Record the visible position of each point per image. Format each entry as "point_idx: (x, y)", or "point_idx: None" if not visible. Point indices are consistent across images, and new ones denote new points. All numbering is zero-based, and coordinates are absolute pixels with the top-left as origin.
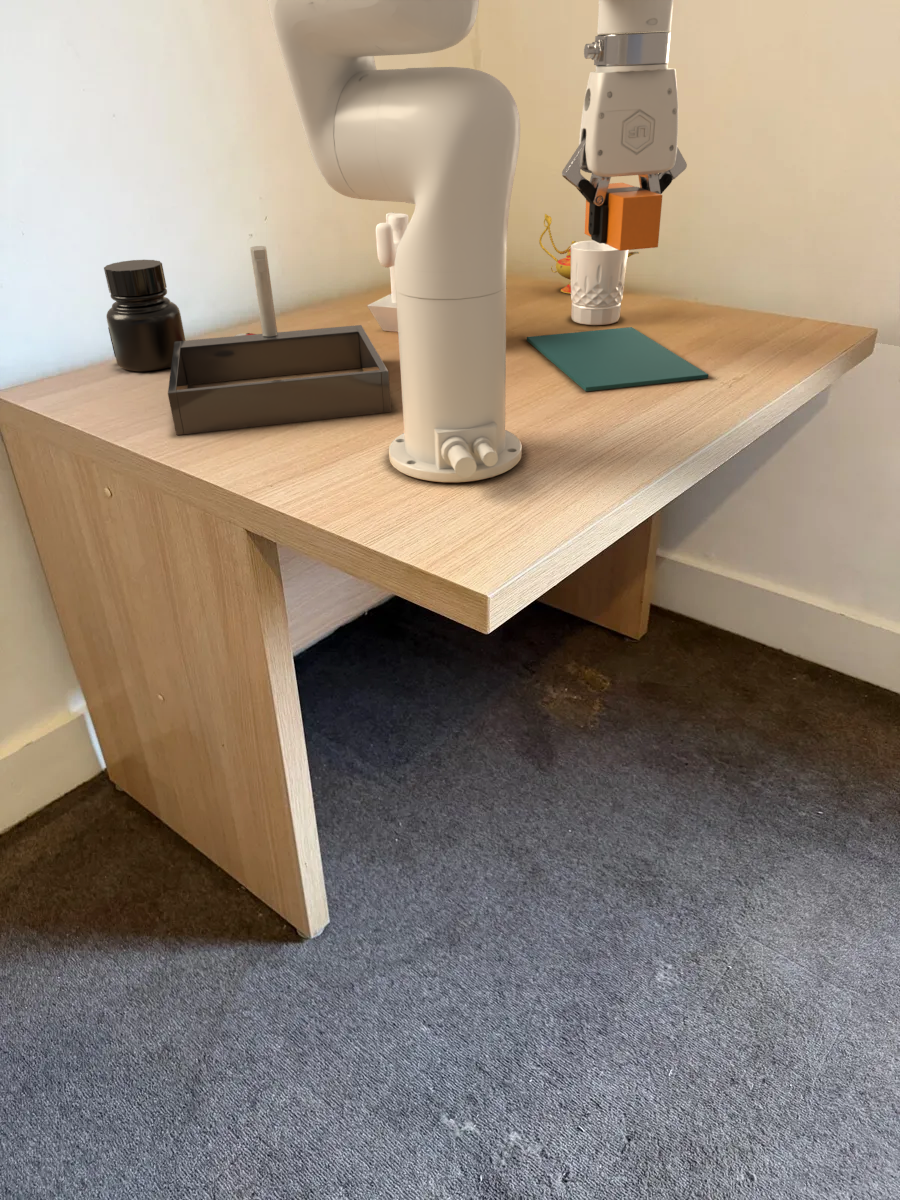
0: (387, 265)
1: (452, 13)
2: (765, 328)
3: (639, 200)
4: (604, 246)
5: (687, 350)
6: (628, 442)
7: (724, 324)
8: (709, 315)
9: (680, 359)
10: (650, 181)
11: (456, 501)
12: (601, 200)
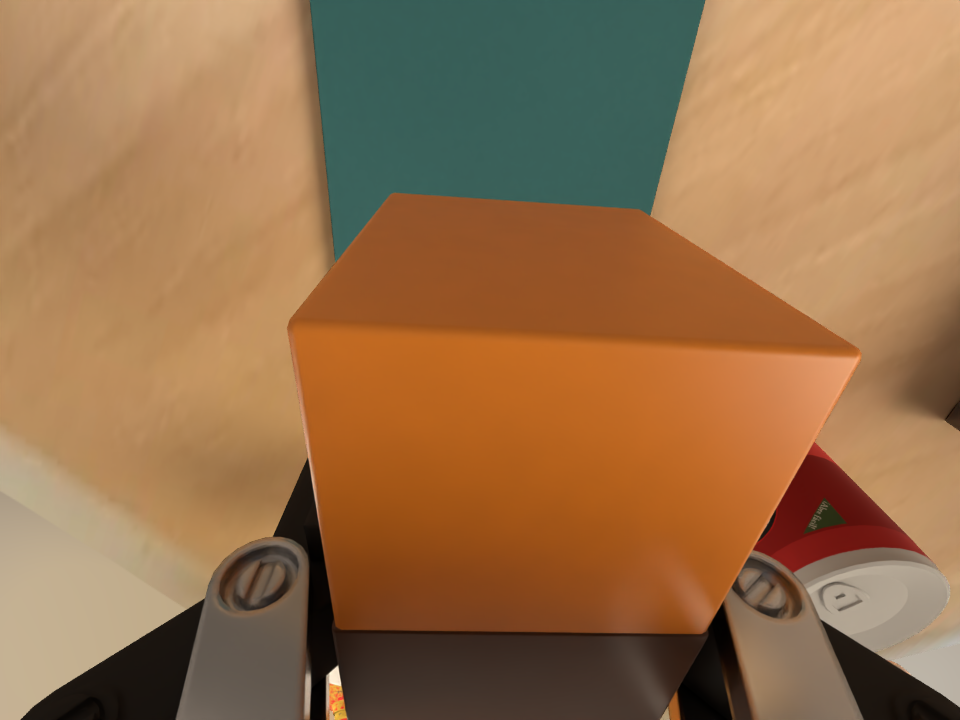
0: (892, 662)
1: None
2: (22, 332)
3: (620, 320)
4: (337, 666)
5: (275, 239)
6: None
7: (123, 391)
8: (143, 456)
9: (333, 134)
10: (282, 713)
11: None
12: (742, 582)
